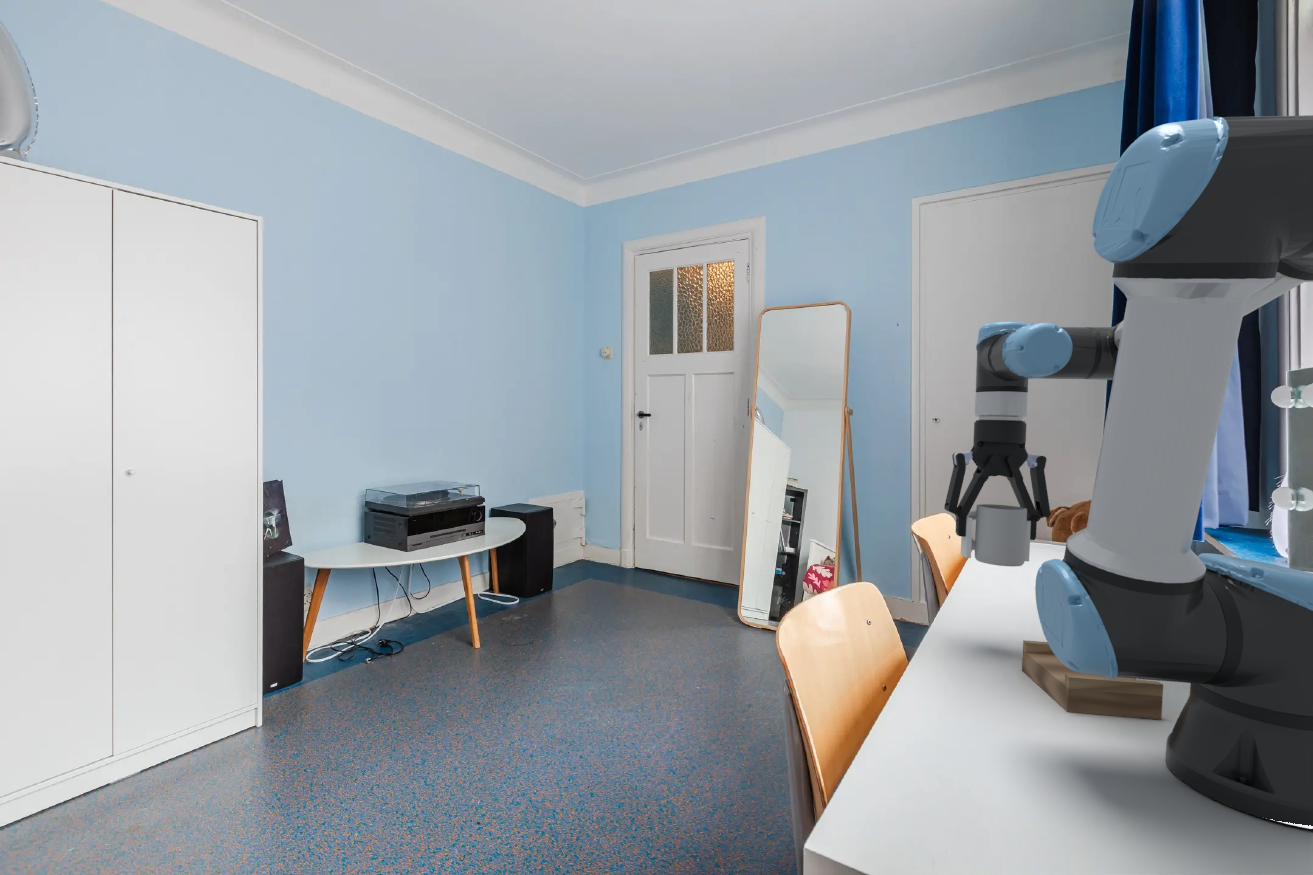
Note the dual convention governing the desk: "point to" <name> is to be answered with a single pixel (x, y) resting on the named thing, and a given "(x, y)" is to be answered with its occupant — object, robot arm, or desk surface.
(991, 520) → the cup
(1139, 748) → the desk surface
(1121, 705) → the wooden tray
